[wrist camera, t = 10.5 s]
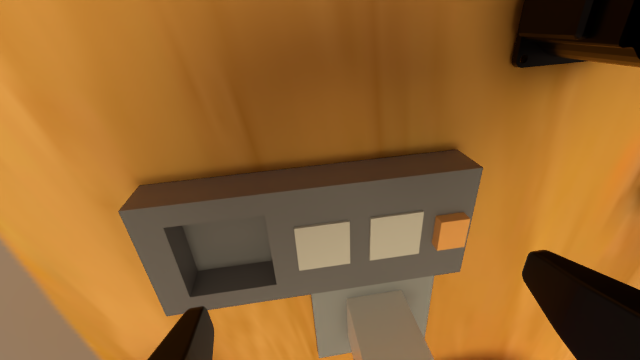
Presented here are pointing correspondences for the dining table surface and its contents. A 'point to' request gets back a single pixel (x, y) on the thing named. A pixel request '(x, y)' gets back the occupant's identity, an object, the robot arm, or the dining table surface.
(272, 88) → the dining table surface
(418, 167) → the power strip
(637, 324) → the robot arm
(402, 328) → the block
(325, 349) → the mat
